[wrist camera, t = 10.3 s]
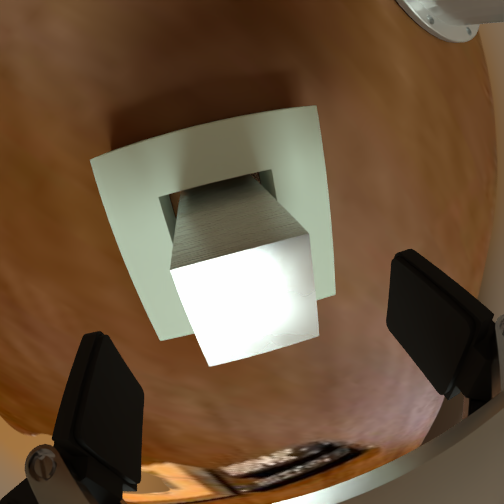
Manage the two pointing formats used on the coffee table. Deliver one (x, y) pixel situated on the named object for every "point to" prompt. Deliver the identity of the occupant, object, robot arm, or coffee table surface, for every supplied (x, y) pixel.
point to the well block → (204, 172)
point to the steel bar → (242, 270)
